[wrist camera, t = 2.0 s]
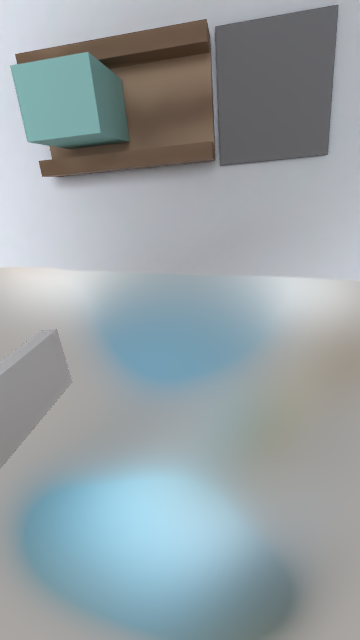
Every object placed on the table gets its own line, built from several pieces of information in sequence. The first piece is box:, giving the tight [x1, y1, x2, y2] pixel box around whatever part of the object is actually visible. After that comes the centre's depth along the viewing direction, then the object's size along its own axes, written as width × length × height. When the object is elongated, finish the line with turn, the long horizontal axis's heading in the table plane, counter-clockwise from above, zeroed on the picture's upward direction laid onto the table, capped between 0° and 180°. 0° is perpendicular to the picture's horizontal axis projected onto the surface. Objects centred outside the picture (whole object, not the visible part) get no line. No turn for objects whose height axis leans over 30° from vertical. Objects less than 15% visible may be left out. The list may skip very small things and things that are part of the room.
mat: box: [215, 5, 338, 165], centre depth 30 cm, size 11×10×1 cm
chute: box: [15, 19, 215, 177], centre depth 32 cm, size 10×17×4 cm, turn 95°
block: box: [10, 52, 130, 149], centre depth 29 cm, size 5×6×8 cm
